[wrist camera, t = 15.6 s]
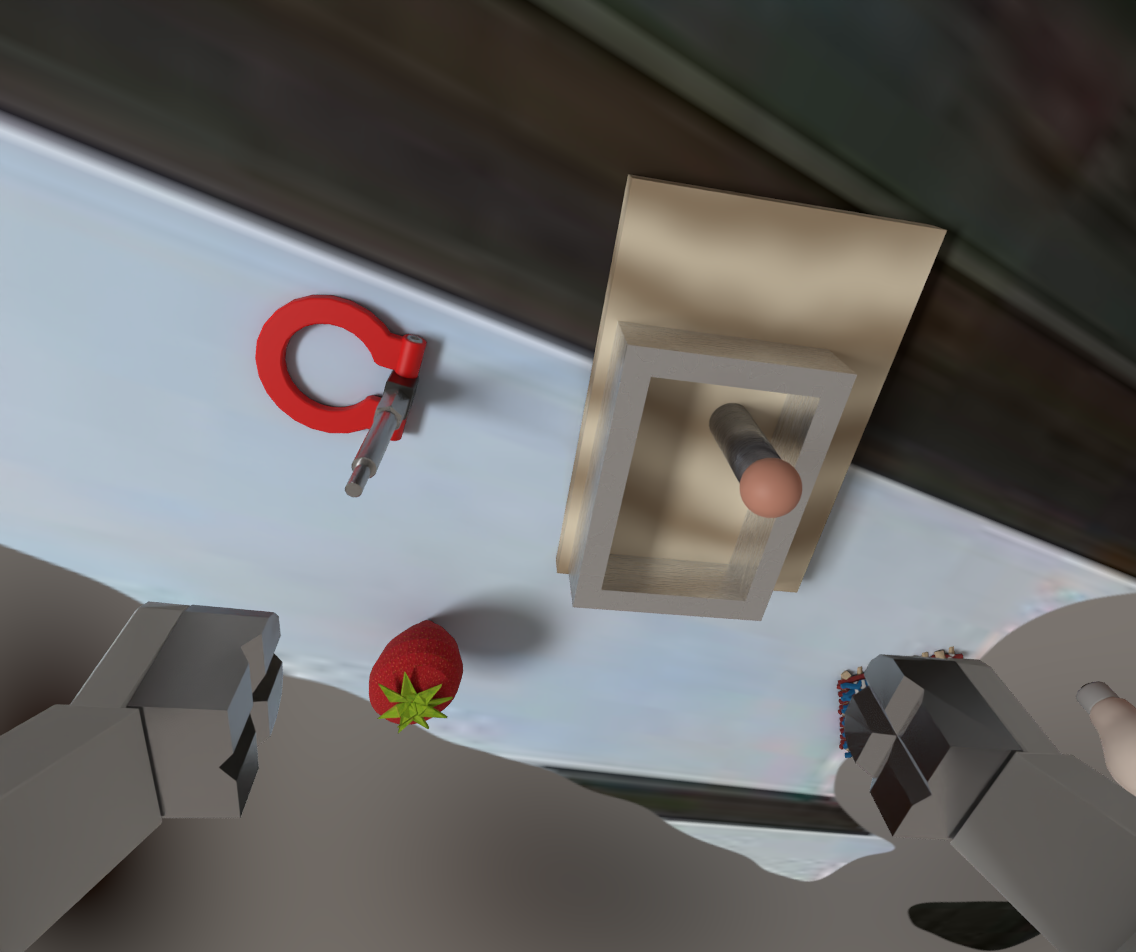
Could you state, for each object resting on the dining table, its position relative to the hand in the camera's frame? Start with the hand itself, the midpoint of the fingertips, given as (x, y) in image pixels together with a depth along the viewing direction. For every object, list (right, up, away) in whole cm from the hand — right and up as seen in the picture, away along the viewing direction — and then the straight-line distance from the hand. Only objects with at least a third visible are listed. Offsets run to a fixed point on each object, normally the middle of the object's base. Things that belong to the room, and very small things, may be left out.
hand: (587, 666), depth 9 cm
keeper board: (+10, +7, +35) cm, 37 cm away
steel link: (+8, +3, +36) cm, 36 cm away
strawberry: (-11, -8, +43) cm, 45 cm away
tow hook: (-14, +9, +32) cm, 36 cm away
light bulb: (+46, -16, +52) cm, 71 cm away
